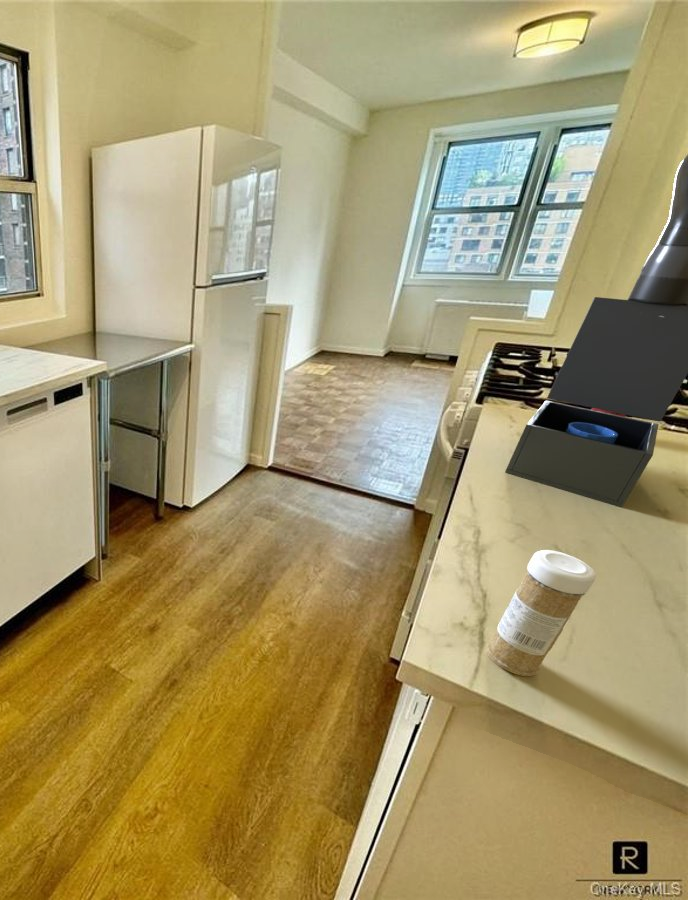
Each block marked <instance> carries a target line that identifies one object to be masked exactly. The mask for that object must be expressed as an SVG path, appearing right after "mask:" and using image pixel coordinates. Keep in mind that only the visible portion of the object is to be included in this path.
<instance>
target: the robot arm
mask: <svg viewBox="0 0 688 900" xmlns="http://www.w3.org/2000/svg"><path fill="white" fill-rule="evenodd" d="M627 300H632V301H636V302H641V303H649V304H658V305H677V306H678V305H686V306H688V154H686V156H685V157H684V158H683V160H682V161H681V162H680V164H679V166H678V168H677V171H676V174H675V178H674V183H673V191H672V199H671V205H670V210H669V217H668V220H667V223H666V225H665V226H664V229H663V231H662V232H661V235H660V236H659V238H658V240H657V243H656V245H655V247H654V248H653V249H652V251H651V252H650V254H649V256H648V257H647V259H646V261H645V263H644V265H643V266H642V268H641V270H640V273H639V275H638V278H637V279H636V281H635V283H634V286H633V288H632V289H631V291H630V293H629V296H628V298H627ZM659 317H664V316H659Z"/></svg>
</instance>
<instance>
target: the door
mask: <svg viewBox="0 0 688 900" xmlns="http://www.w3.org/2000/svg"><path fill="white" fill-rule="evenodd" d="M659 316H664V317H659ZM687 376H688V306H686V305H678V306H677V305H658V304H649V303H641V302H636V301H632V300H628V299H620V298H610V297H601V296H595V297H594V298H593V299H592V303H591V304H590V306H589V308H588V311H587V313H586V315H585V316H584V319H583V321H582V323H581V324H580V328H579V329H578V332H577V334H576V335H575V338H574V340H573V342H572V344H571V346H570V348H569V350H568V353H567V354H566V357H565V358H564V361H563V362H562V365H561V367H560V369H559V371H558V373H557V376H556V378H555V380H554V382H553V384H552V386H551V389H550V390H549V393H548V395H547V397H546V399H549V400H553V401H558V402H563V403H567V404H573V405H578V406H582V407H587V408H590V409H592V408H596V409H601V410H606V411H611V412H615V413H620V414H625V416H631V417H634V418H640V419H643V420H650V421H655V422H659V423H660V422H661V421H662V420H663V418H664V416H665V415H666V413H667V412H668V409H669V408H670V405H671V404H672V402H673V401H674V399H675V396H676V395H677V393H678V392H679V390H680V388H681V386H682V385H683V383H684V381H685V379H686V378H687Z"/></svg>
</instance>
